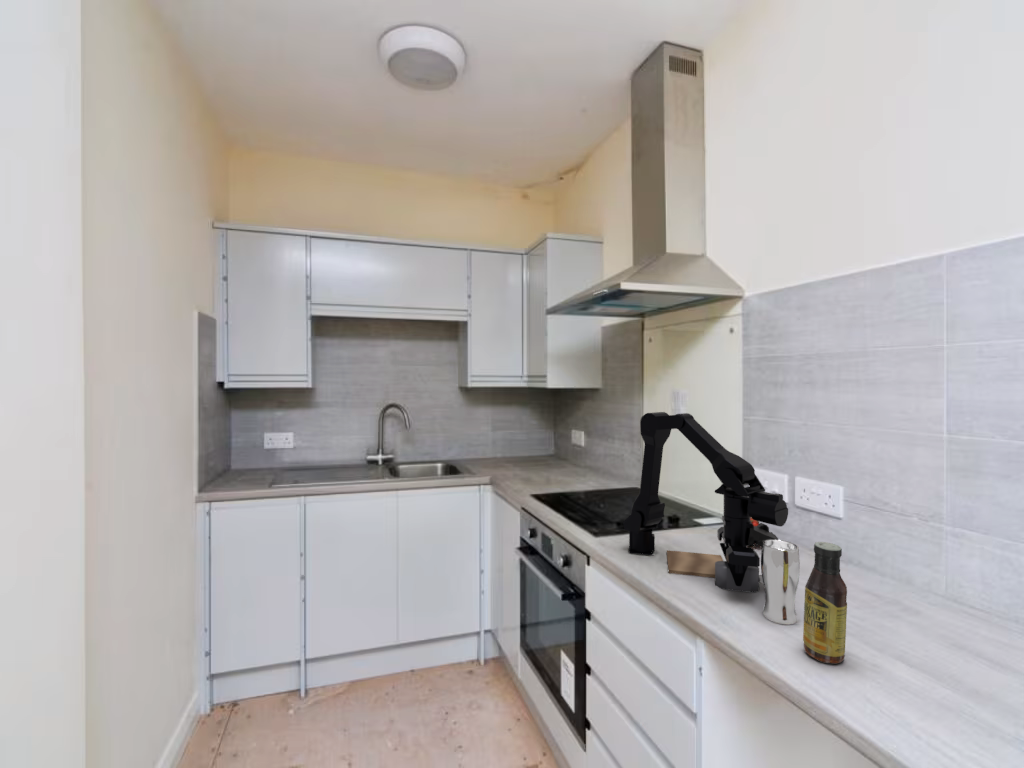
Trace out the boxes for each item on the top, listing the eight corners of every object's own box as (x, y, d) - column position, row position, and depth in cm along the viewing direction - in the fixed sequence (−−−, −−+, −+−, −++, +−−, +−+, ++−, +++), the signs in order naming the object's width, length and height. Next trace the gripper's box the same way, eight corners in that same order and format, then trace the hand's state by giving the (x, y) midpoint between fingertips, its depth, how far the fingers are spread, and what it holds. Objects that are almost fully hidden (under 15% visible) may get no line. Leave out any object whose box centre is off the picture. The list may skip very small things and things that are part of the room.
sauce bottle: (795, 646, 87) (795, 538, 87) (827, 644, 88) (828, 537, 87) (821, 668, 81) (822, 551, 80) (855, 666, 81) (856, 550, 81)
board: (668, 573, 120) (668, 569, 120) (666, 553, 133) (666, 550, 133) (729, 579, 116) (729, 576, 116) (720, 558, 130) (720, 555, 130)
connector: (716, 588, 111) (716, 567, 111) (713, 580, 115) (713, 560, 115) (772, 594, 108) (772, 572, 108) (768, 586, 112) (768, 565, 112)
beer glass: (795, 612, 100) (795, 540, 100) (803, 628, 93) (803, 552, 93) (758, 606, 102) (758, 537, 102) (763, 622, 96) (764, 548, 95)
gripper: (786, 530, 101) (786, 604, 101) (765, 507, 118) (765, 569, 119) (728, 526, 104) (728, 597, 104) (717, 504, 122) (717, 565, 122)
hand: (736, 581), depth 112 cm, fingers closed on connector, 4 cm apart
